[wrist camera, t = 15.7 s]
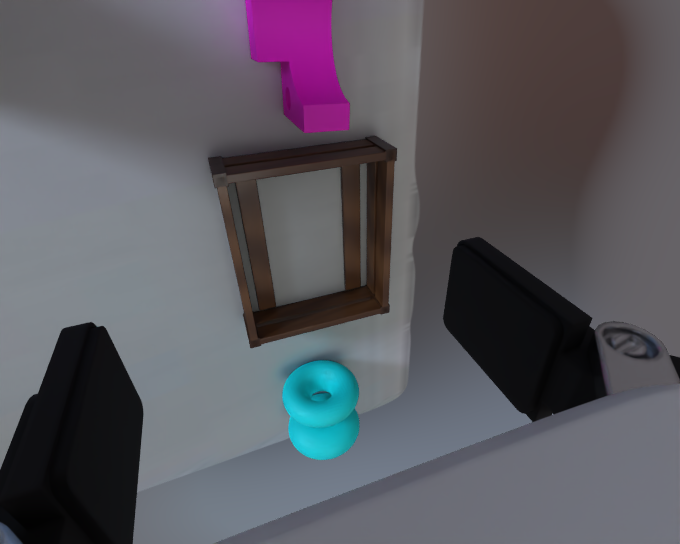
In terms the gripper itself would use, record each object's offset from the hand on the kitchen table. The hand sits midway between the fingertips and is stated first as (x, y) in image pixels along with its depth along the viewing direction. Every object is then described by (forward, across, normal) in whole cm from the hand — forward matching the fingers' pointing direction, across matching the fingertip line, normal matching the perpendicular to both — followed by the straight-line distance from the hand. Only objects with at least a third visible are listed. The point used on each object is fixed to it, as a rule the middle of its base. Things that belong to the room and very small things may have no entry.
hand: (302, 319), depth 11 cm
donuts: (+31, -6, +38) cm, 49 cm away
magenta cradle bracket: (+31, -7, -6) cm, 32 cm away
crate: (+30, -7, +14) cm, 34 cm away
